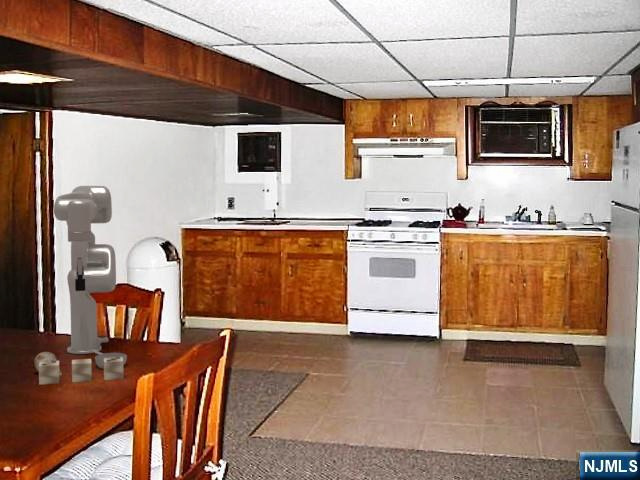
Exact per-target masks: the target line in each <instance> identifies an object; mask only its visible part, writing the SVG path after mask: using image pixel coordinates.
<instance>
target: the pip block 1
mask: <svg viewBox="0 0 640 480" xmlns="http://www.w3.org/2000/svg"><path fill="white" fill-rule="evenodd" d="M59 370H60V360H57V361H46V362H40V363H39V371H38V385H39V386H40V385H41V386H42V385H53V384H54V385H55V384H56V385H57V384H59V383H60V374H59Z"/></svg>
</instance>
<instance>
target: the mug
mask: <svg viewBox="0 0 640 480" xmlns="http://www.w3.org/2000/svg"><path fill="white" fill-rule="evenodd" d="M33 361H34V367H35V369H36V370H37V371H38V372H39V363H40V362H46V361H58V360H57V356H56V355H55V354H54V353H52V352H50V351H42V352H40V353H38V354H37V355H36V356H35V358H34V360H33ZM59 374H60V376H62V374H63V373H62V371H61V370H60V369H59Z"/></svg>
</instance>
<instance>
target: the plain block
mask: <svg viewBox="0 0 640 480" xmlns="http://www.w3.org/2000/svg"><path fill="white" fill-rule="evenodd" d="M92 371H93V370H92V358H83V359H82V358H80V359H72V360H71V382H72V383H84V382H86V383H87V382H92V380H93V379H92V378H93V377H92Z"/></svg>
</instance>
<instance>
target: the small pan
mask: <svg viewBox="0 0 640 480" xmlns="http://www.w3.org/2000/svg"><path fill="white" fill-rule="evenodd" d="M91 351H92V352H94V353H93V354H97V355H96V356H94V361H95V364H96V365H97V367H98V368H99V369H103V370H104V358H113V357H123V367H124V366H125V365H126V362H127V359H128V355H127V354H125V353H122V352H109V353H107V352H106V353H102V352H100V351H96V350H91Z"/></svg>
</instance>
